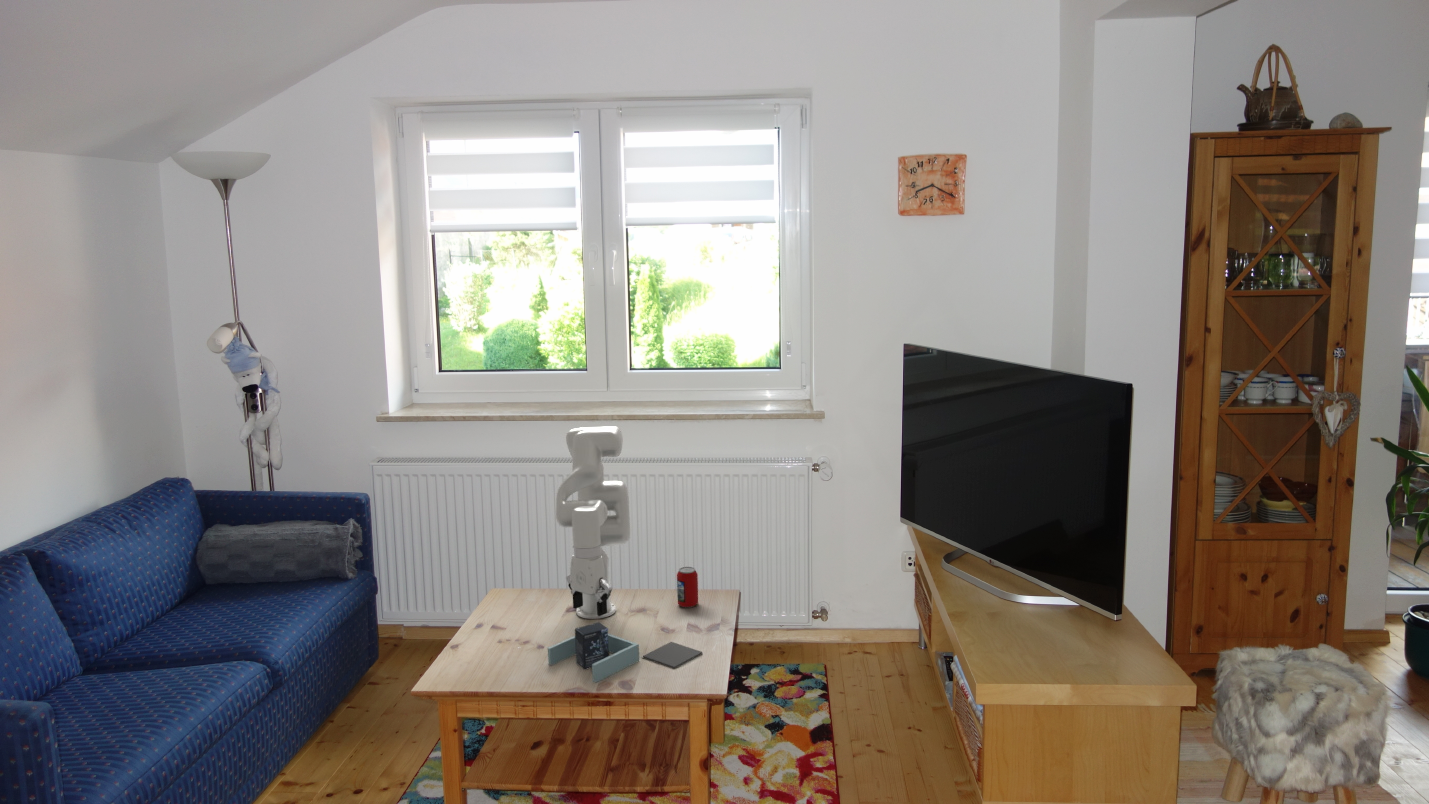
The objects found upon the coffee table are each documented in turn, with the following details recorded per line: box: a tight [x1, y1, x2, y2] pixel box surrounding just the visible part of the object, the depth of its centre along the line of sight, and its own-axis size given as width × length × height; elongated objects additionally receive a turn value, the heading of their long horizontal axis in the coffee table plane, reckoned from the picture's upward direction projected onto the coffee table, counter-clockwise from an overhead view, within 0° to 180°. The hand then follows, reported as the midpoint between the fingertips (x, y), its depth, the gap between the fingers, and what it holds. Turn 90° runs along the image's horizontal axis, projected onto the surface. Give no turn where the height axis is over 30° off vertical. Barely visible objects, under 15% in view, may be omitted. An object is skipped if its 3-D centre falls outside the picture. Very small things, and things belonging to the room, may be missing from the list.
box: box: [574, 621, 610, 671], centre depth 262 cm, size 8×6×11 cm
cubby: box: [547, 633, 640, 683], centre depth 263 cm, size 19×17×5 cm
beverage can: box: [676, 566, 699, 608], centre depth 304 cm, size 7×7×12 cm
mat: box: [642, 641, 703, 669], centre depth 266 cm, size 12×12×1 cm
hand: (590, 610), depth 260 cm, fingers open, 9 cm apart
